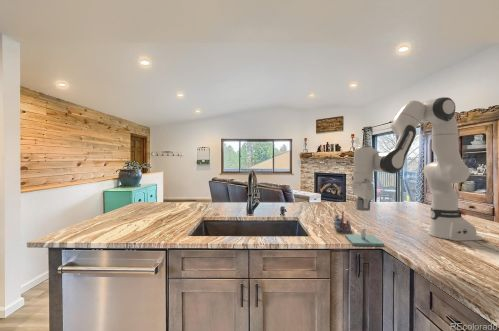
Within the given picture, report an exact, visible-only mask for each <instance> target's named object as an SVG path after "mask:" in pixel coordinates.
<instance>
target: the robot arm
mask: <svg viewBox="0 0 499 331" xmlns="http://www.w3.org/2000/svg"><path fill="white" fill-rule="evenodd" d="M455 112H456V103H455V102H454V100H453V99H452V98H450V97H445V96H444V97H443V96H442V97H438V98H434V99H429V100H426V101H424V102H421V101H420V100H410V101H407V102H406V103H405V104H404V106H402V108H401V109H400V110H399V111H398V113H397V114H396V115H395V116H394V118H393V120H392V122H391V125H390V128H391V130H392V133H393V134H394V135H395V136H397V137H398V138H397V141H396V143H395V144H394V146H393V148H392V149H391V150H389V151H385V152H382V151H379V150H377V149H375V148H374V147H373V146H372V145H369V144H368V145H361V146H357V147H355V149H354V152H353V167H354V168H353V175H352V176H351V181H352V192H353V195H354V196H357V198H356V199H364V204H363V207H364V208H368V203H369V200H370V201H372V200H374V199H375V198H374V197H375V191H374V190H375V189H374V185H373V182H374V172H379V173H387V174H397V173H399V172H400V171H401V170H402V169H403V168H404V165H405V161H406V157H407V155H408V153H409V150H410V148H411V147H412V144H413V143H414V141H415V138H416V134H417V128H418V126H419V124H426V123H430V124H431V151H432V152H433V153H434V155H435V157H436V161H432V162H429V163H428V164H426V165H425V166H424V167H423V171H422V173H423V176H424V177H425V178H426V180H427V182H428V185H429V188H430V193H431V207H430V225H429V229H428V232H427V235H429V236H432V237H435V238H440V239H445V240H450V241H453V242H454V241H455V242H458V241H459V242H460V241H483V239H484V238H483V237H482V236H481V235H479V234H477V229H476V227H475V225H474V224H472V223H471V222H469V221H468V220H466V219H465V218H464V217H463V216H466V215H468V213H467V211H465V210H459V195H458V193H457V191H456V190H455V189H454V186H453V184H459V183H463V182H464V183H465V182H466V181H467V180H468V179H469V177H470V175H471V170H470V168H469V167H468V165H467V164H465V163H464V161H463V159H462V156H461V154H460V151H459V130H458V129H459V128H458V122H457V118H456V116H455Z"/></svg>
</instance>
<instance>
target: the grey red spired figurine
mask: <svg viewBox="0 0 499 331" xmlns="http://www.w3.org/2000/svg"><path fill="white" fill-rule="evenodd" d="M344 219H345V218H344V211H343V210H342V213H341V217H339V214H335V215H334V219H333V220H334V221H333V222H332V225H334V226H333V229H335V230H336V231H338V232H339V233H351V231H352V227H351V223H350V221H349V220H346V222H344V221H345V220H344Z"/></svg>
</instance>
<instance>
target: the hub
mask: <svg viewBox="0 0 499 331" xmlns="http://www.w3.org/2000/svg"><path fill="white" fill-rule="evenodd" d="M363 204H364V198H362V199H358V198H355V210H357V211H361V212H362V211H363V212H364V211H367V212H368V211H371V200H369V203H368V208H364V207H363Z"/></svg>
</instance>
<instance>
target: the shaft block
mask: <svg viewBox="0 0 499 331" xmlns="http://www.w3.org/2000/svg"><path fill="white" fill-rule="evenodd" d="M366 231H367V230H366V228H364V227H363V228H360V234H344V237H345V239H346V240H347V241H348V242H349V243H350V244H351V246H354V247H355V246H357V247H358V246H359V247H360V246H361V247H363V246H364V247H385V243H384V242H382V241H381V240H380V239H379V238H377V237H376V236H375V235H374V234H366Z"/></svg>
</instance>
